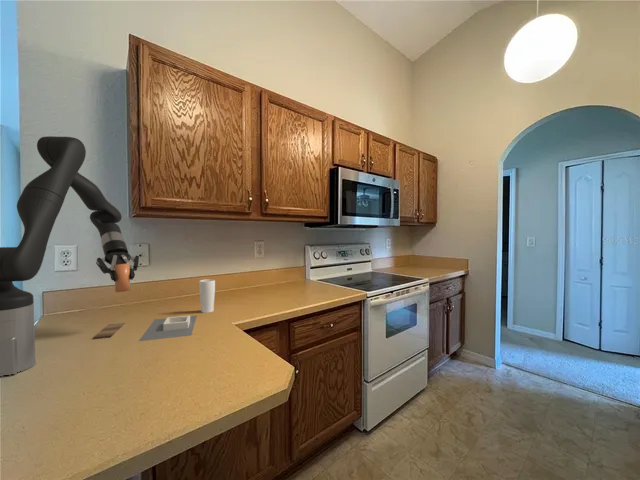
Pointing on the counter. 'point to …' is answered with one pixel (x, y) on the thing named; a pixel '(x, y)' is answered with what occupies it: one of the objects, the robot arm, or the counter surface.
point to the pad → (108, 331)
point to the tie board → (170, 328)
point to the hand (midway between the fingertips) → (124, 279)
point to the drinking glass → (207, 295)
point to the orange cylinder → (122, 277)
